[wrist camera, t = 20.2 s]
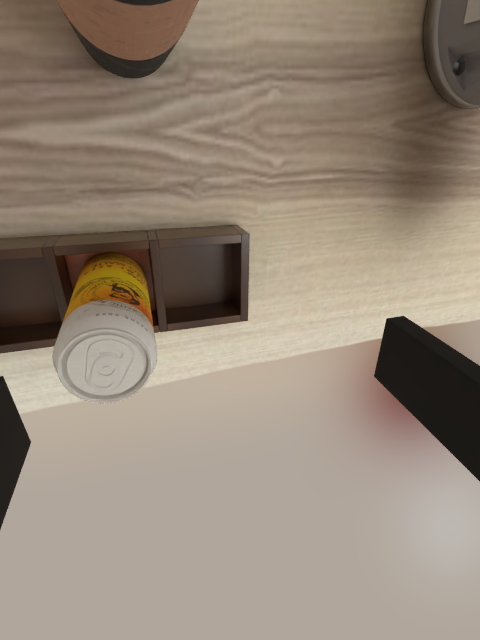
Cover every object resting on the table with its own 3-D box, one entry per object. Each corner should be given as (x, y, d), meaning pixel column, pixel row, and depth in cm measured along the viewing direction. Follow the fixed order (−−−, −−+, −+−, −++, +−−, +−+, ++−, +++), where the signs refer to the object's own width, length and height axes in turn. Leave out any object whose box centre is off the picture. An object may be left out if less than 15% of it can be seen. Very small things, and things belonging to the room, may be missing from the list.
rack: (237, 224, 35) (249, 233, 31) (237, 305, 39) (248, 320, 35) (-59, 241, 28) (-85, 255, 25) (-21, 335, 32) (-38, 358, 29)
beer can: (153, 261, 33) (171, 335, 20) (136, 315, 35) (143, 413, 22) (87, 241, 31) (60, 312, 18) (73, 301, 33) (40, 402, 20)
